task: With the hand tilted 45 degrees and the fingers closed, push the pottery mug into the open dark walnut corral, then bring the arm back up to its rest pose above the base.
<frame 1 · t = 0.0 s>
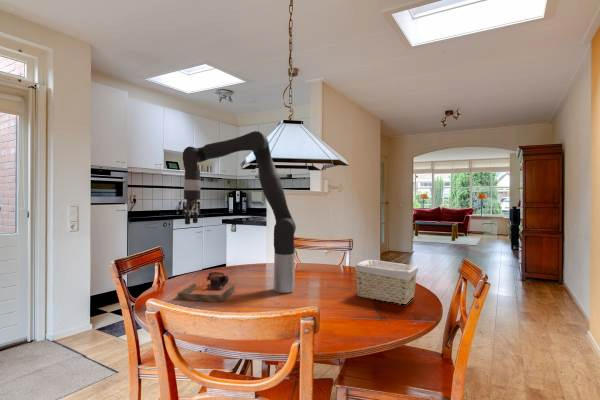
hand: (191, 223, 162), 29 cm above the table, tool pointing down, fingers open, 8 cm apart
wooden corral: (207, 295, 147), on the table
storage basket: (385, 298, 151), on the table
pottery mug: (217, 288, 160), on the table
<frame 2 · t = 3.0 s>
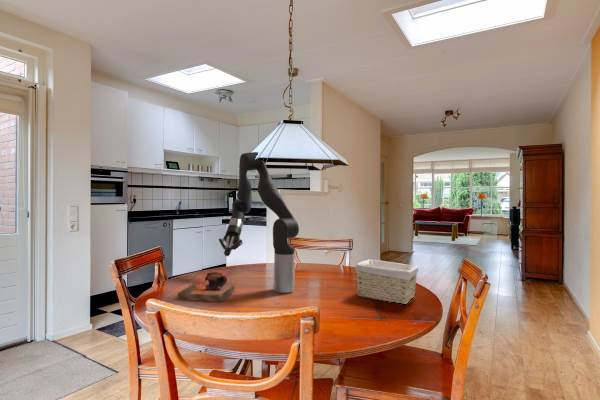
hand: (226, 255, 172), 13 cm above the table, tool tilted 45°, fingers closed
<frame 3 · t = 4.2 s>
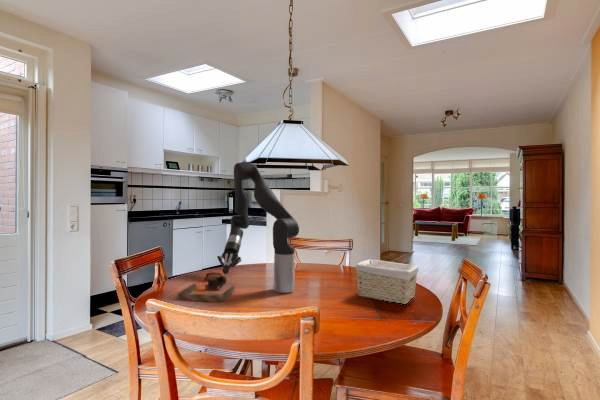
hand: (225, 273, 170), 4 cm above the table, tool tilted 45°, fingers closed
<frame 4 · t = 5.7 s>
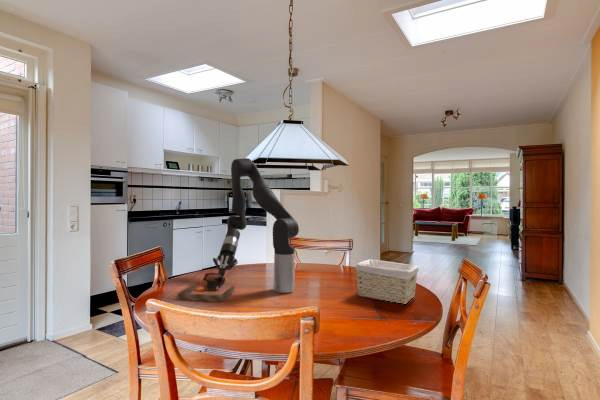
hand: (220, 276, 163), 4 cm above the table, tool tilted 45°, fingers closed
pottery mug: (214, 288, 158), on the table, touching gripper
everything else where it was.
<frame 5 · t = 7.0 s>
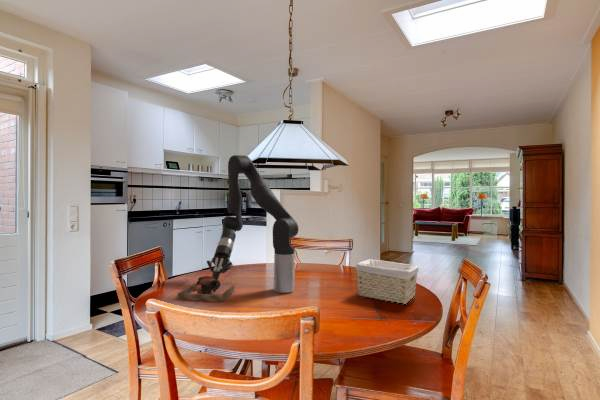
hand: (214, 279, 156), 4 cm above the table, tool tilted 45°, fingers closed
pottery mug: (208, 293, 151), on the table, touching gripper
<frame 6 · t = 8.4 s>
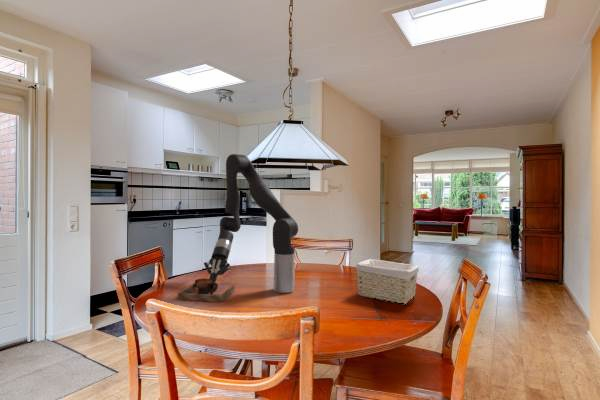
hand: (212, 281, 153), 4 cm above the table, tool tilted 45°, fingers closed
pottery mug: (205, 295, 147), on the table
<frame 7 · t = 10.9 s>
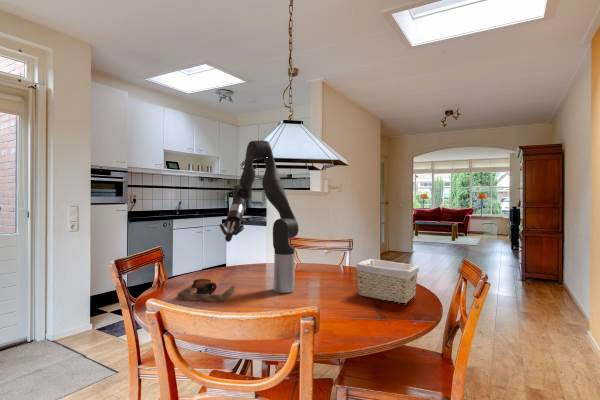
hand: (227, 240, 166), 21 cm above the table, tool tilted 45°, fingers closed
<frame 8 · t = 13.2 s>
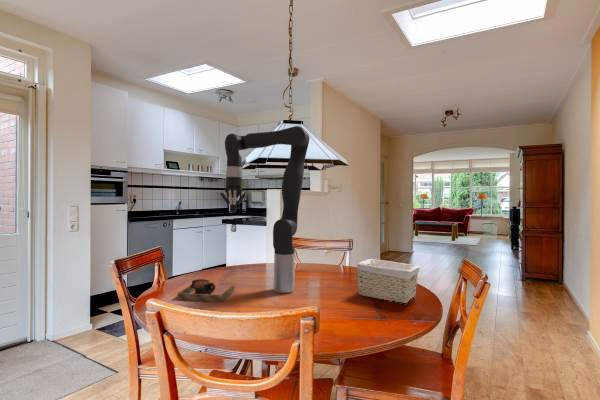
hand: (233, 212, 164), 35 cm above the table, tool pointing down, fingers closed
at the end: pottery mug inside the target area (1.6 cm from its centre), on the table; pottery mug tilted 0° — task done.
